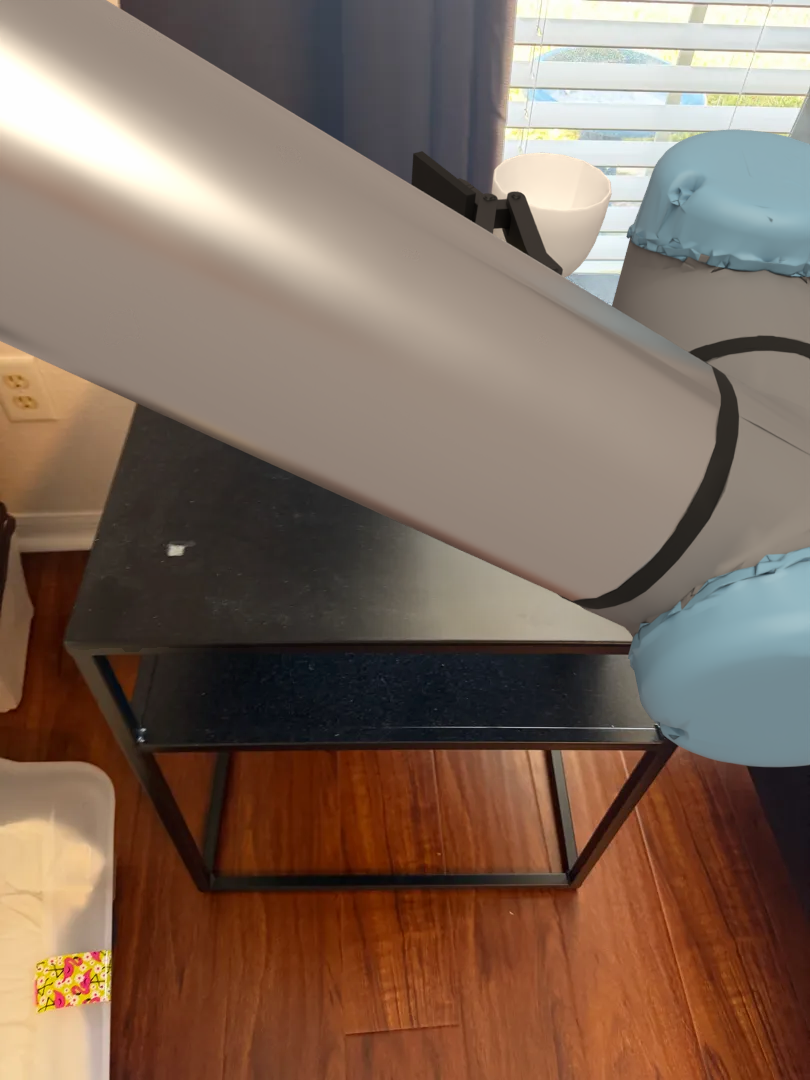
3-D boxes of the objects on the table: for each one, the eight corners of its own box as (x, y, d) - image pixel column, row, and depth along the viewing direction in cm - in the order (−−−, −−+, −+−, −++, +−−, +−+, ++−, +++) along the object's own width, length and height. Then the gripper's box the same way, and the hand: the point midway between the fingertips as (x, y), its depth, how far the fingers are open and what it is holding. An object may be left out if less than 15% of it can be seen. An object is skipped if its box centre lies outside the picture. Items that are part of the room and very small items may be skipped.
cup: (452, 327, 93) (468, 179, 80) (513, 284, 99) (537, 140, 86) (537, 373, 89) (569, 225, 76) (596, 326, 95) (635, 181, 82)
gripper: (322, 497, 44) (166, 290, 55) (667, 355, 53) (475, 203, 64) (318, 385, 38) (145, 179, 49) (706, 248, 47) (487, 101, 58)
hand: (332, 192), depth 56 cm, fingers open, 13 cm apart
